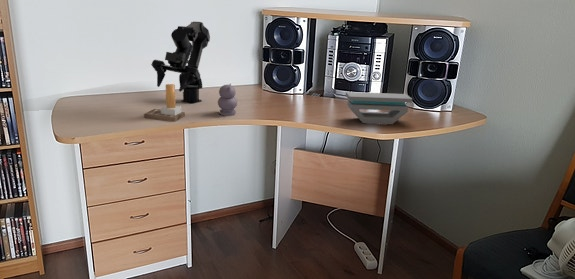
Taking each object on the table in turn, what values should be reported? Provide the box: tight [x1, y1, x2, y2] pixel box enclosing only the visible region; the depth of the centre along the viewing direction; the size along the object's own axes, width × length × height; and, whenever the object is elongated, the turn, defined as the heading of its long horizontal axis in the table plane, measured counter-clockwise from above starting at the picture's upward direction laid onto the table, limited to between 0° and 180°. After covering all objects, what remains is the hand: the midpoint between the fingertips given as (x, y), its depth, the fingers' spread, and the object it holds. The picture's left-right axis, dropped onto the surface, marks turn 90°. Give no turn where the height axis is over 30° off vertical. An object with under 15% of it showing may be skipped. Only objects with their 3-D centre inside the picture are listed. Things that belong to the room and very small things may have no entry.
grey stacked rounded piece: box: [217, 83, 238, 117], centre depth 175 cm, size 8×8×12 cm
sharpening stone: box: [345, 91, 413, 125], centre depth 176 cm, size 25×8×11 cm, turn 94°
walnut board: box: [143, 108, 186, 122], centre depth 168 cm, size 8×13×2 cm, turn 77°
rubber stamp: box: [160, 83, 182, 116], centre depth 167 cm, size 5×6×11 cm
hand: (168, 88), depth 169 cm, fingers open, 9 cm apart
